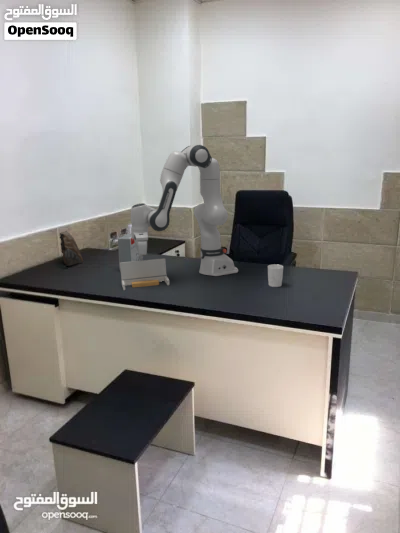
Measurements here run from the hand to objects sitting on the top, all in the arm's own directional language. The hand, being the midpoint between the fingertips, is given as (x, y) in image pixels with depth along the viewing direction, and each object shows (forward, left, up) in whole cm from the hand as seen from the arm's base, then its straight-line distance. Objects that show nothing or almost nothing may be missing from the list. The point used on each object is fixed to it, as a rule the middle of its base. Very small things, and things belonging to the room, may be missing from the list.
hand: (141, 259), depth 226 cm
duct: (0, +9, -12) cm, 15 cm away
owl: (+38, -54, -12) cm, 67 cm away
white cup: (-64, +31, -12) cm, 73 cm away
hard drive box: (+4, -27, -12) cm, 29 cm away
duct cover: (0, +6, -4) cm, 7 cm away
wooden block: (0, +9, -12) cm, 15 cm away
